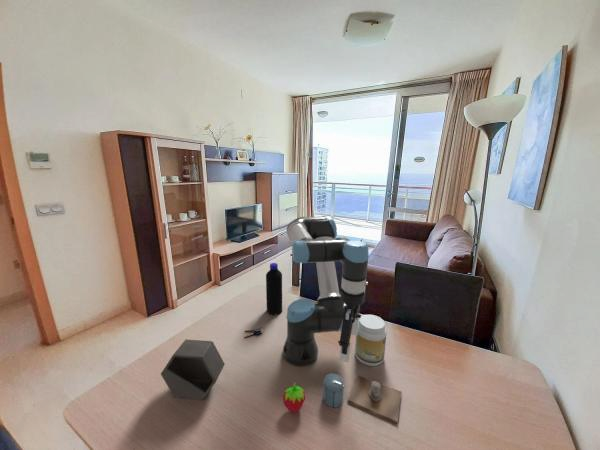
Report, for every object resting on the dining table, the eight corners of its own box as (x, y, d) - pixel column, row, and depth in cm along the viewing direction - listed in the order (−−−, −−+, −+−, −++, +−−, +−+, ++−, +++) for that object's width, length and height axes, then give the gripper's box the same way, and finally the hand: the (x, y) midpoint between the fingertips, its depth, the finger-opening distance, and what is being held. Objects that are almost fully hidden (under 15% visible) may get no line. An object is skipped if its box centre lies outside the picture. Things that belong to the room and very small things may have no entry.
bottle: (279, 316, 132) (279, 268, 126) (264, 314, 134) (263, 266, 128) (284, 307, 141) (283, 262, 135) (269, 305, 142) (268, 260, 136)
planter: (153, 384, 84) (180, 343, 79) (167, 367, 91) (192, 328, 86) (195, 410, 84) (223, 370, 80) (205, 390, 92) (232, 353, 87)
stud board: (347, 402, 83) (348, 388, 82) (356, 376, 94) (357, 364, 92) (397, 424, 76) (399, 410, 75) (401, 394, 86) (402, 381, 85)
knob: (320, 401, 83) (321, 384, 82) (327, 387, 89) (328, 370, 87) (338, 410, 80) (339, 392, 79) (344, 394, 86) (345, 377, 84)
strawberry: (282, 402, 83) (282, 377, 81) (303, 400, 84) (304, 376, 81) (283, 419, 77) (283, 393, 75) (306, 417, 78) (306, 391, 76)
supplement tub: (388, 366, 98) (392, 330, 95) (359, 368, 98) (362, 331, 94) (377, 345, 110) (380, 312, 107) (351, 346, 109) (353, 313, 106)
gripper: (357, 312, 65) (352, 378, 69) (370, 276, 87) (366, 327, 92) (330, 306, 68) (327, 369, 72) (350, 272, 90) (346, 322, 95)
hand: (349, 346), depth 82 cm, fingers open, 13 cm apart
